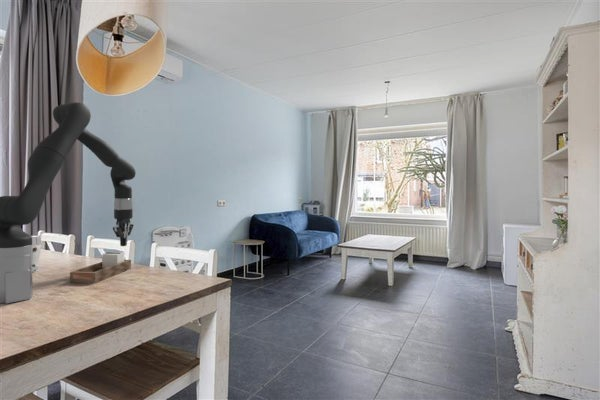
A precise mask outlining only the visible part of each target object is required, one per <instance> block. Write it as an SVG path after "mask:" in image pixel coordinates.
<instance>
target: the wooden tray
mask: <svg viewBox="0 0 600 400" xmlns="http://www.w3.org/2000/svg"><path fill="white" fill-rule="evenodd" d="M129 270H132V259H124V262H121V263H118V264H115V265H113V266H110V267H107V268H102V261H100V262H98V263H94V264H90V265H87V266H85V267H82V268H78V269H75V270H73V271H70V272H69V283H71V284H72V283H73V284H97V283H100V282H102V281H104V280H107V279H109V278H112V277H115V276H117V275H119V274H121V273H124V272H127V271H129Z"/></svg>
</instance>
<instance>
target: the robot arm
mask: <svg viewBox="0 0 600 400" xmlns="http://www.w3.org/2000/svg"><path fill="white" fill-rule="evenodd" d="M52 116H53V119H54V121H55V122H56V123H57V124H58V127H57V128H56V129H55V130H54V131H53V132H51V133H50V134H48V135H47V136H46V137H45V138H43V139H42V140H41V141H40V142H39V143H38V144H37V146H35V148H34V149H33V151H32V153H31V155H29V158H28V160H27V172H28V173H27V174H28V180H27V183H26V185H25V187H23V190H22V191H21V192H20V194H19V195H3V196H0V304H10V303H17V302H21V301H26V300H31V298H32V297H33V294H34V293H33V292H34V291H33V289H34V287H33V285H34V284H33V283H34V282H33V272H32V237H31V236H32V235H31V234H29V233H26V232H25V231H24V230H23V229H22V227H21V226H25V225H29V224H31V223H33V221H35V220H36V218H37V217H38V216H39V213H40V211H41V209H42V207H43V204H44V202H45V199H46V198H47V197H46V196H47V194H48V193H49V190H50V188H51V186H52V184H53V182H54V180H55V178H56V176H57V175H58V173H59V172H60V170H61V168H62V167H63V165H64V163H65V161H66V160H67V158H68V155H69V154H70V152H71V150H72V149H73V147H74V145H75V143H76V142H77V140H78V142H80V143H81V144H82V145H83V146H85V147H86V148H87V149H89V150H90V151H91V152H92V153H93V154H94V156H96V157H97V158H98V159H99V160H100V162H101V163H102V164H103V165H104V166H106V167H108V168H111V169H110V173H109V174H110V178H111V182H112V186H113V189H114V199H113V200H114V202H113V218H114V220H116V223H115V224H116V225H115V226H113V227H112V230H113V232H114V234H115V236H116V238H119V239H120V240H119V244H120V247H127V245H128V241H127V239H128V237H129V236H131V232H132V231H133V228H134V224H133V223H131V220H132V219H133V216H134V215H133V212H134V211H133V207H134V206H133V193H132V192H133V190H132V187H131V186H130V185H128V184H127V183H126V181H130V180H133V179H134V178H135V177H136V169H135V168H134V166H133V165H132V164H131V163H130V162H129V161H127V160H126V159H125V158H124V157H122V156H120V155H119V154H118V153H117V151H116V150H115V149H114V148H113V146H111V145H110V144H109V143H108V142H107V141H105V140H103V138H100V137H99V136H97V135H95V134H93V133H92V132H91V131H89V130H88V129H87V127H88V125H89V124H90V121H91V117H92V116H91V110H90V108H89V107H88V106H87V104H85V103H82V102H75V101H74V102H68V103H63V104H59V105H57V106H55V107H54V108H53V111H52Z"/></svg>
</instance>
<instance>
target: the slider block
mask: <svg viewBox="0 0 600 400" xmlns="http://www.w3.org/2000/svg"><path fill="white" fill-rule="evenodd" d="M124 260H125V252H118V251H117V252H110V251H109V252H108V251H107V252H106V253H102V254H101V262H102V268H107V267H110V266H113V265H115V264H118V263H121V262H124Z"/></svg>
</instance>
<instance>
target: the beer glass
mask: <svg viewBox="0 0 600 400" xmlns="http://www.w3.org/2000/svg"><path fill="white" fill-rule="evenodd" d="M30 236H31V237H32V273H36V272H39V271H41V269H40V263H39V260H40V255H41V249H42V242H41V241H42V240H41V235H30Z"/></svg>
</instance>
